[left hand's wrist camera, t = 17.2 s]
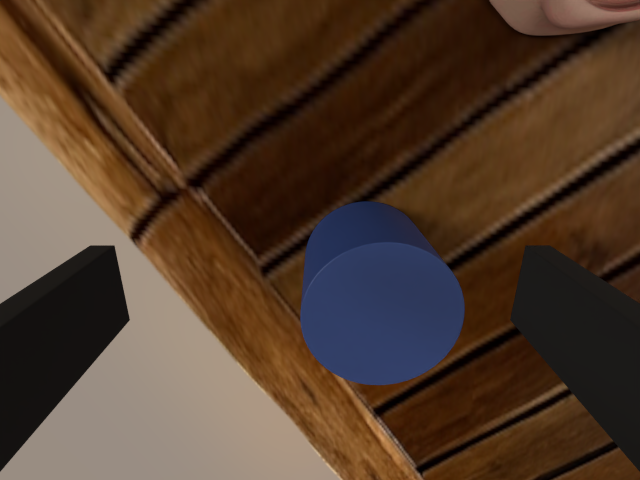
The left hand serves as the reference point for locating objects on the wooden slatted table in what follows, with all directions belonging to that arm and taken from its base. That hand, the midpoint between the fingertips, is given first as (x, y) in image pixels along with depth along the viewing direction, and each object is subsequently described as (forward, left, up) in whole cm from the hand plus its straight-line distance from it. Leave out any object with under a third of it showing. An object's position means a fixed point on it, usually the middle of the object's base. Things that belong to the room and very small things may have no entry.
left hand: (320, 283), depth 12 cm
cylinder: (+1, +7, -16) cm, 17 cm away
